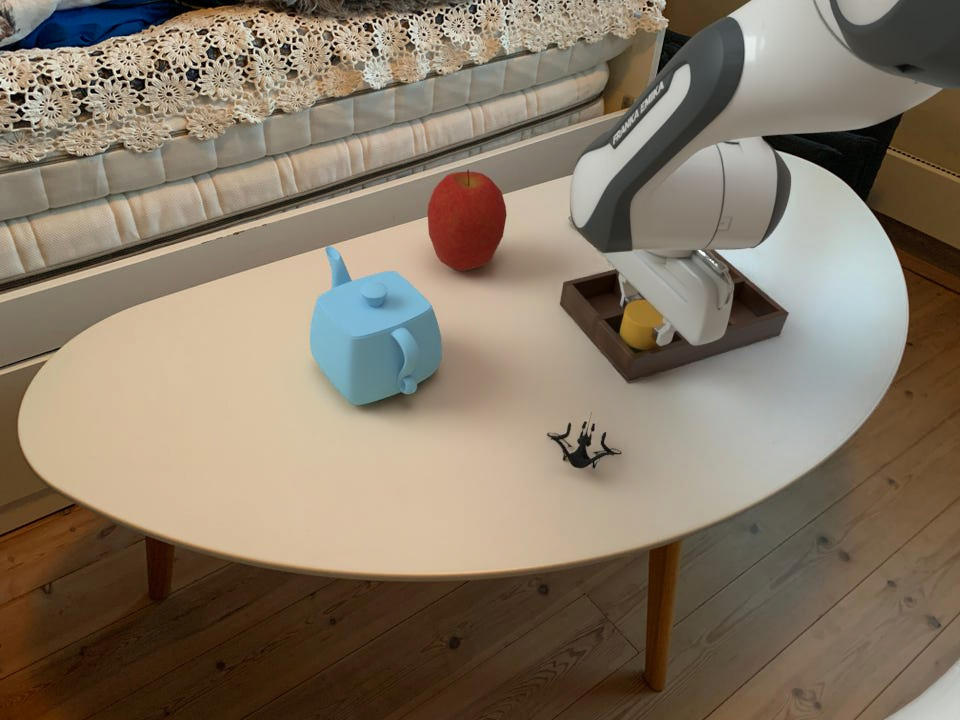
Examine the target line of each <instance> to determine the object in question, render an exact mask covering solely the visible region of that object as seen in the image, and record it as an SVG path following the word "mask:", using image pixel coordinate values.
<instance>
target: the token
mask: <svg viewBox="0 0 960 720" xmlns="http://www.w3.org/2000/svg"><path fill="white" fill-rule="evenodd" d="M662 320H663V316H662V315H661V314H660V313H659V312H658V311H657V310H656V309H655V308H654V307H653V306H652V305H651V304H650V303H649V302H648V301H647V300H635V301H632V302H630V303H629V304H628V305H627V306H626V308H625V312H624V316H623V320H622V324H621V328H620V336H621V338H622V340H623V341H624V342H625V343H626V344H628V345H629V346H631V347H634V348H637V349H641V350H650V349H653V348H657V347H658V346H659V345H658V344H657V343H656V342H655V341H654V340H653V339H652V337H651V336H652V334H653V328H654V327H656V326H661V325H663V324H664V323H663V321H662Z"/></svg>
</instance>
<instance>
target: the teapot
mask: <svg viewBox="0 0 960 720" xmlns="http://www.w3.org/2000/svg"><path fill="white" fill-rule="evenodd" d="M325 254H326V257H327V260H328V261H329V266H330V271H331V287H330V288H331V289H329V290H327V291H325V292H324V293H322V294H321V295H319V296H317V298H316V301H315V304H314V307H313V312H312V316H311V322H310V329H309V347H310V351H311V355H312V357H313V359H314V361H315V362H316V364H317V366H318V367H319V369H320V370H321V372H322V373H323V374H324V376H325V377H326V378H327V380H328V382H330V383H331V385H332V386H333V387H334V388H335V389H336V390H337V391H338V393H339V394H340V395H341V396H342V397H343V398H344V399H345V400H346V401H347V402H348V403H349V404H351V405H354V406H360V405H361V406H362V405H368V404H371V403H374V402H377V401H380V400H383V399H386V398H390V397H392V396H396V395H398V394H400V393H403V394H405V395H412V394H414V393H415V392H416V391H417V389H418V384H419V383H421V382H423V381H425V380H426V379H428V378H429V377H431V376H432V375H433V374H434V373H436V372H437V370H438V368H439V366H440V365H441V362H442V359H443V342H442V334H441V330H440V325H439V322H438V319H437V316H436V313H435V310H434V308H433V305H432V304H431V302H430V301H429V300H428V299H427V298H426V296H424V295H423V294H422V293H421V292H420V291H419V289H417V288H416V287H415V286H414V285H413V284H412V283H411V282H410V281H408V280H407V279H406V277H404V276H403V275H401V274H400V273H399V272H398V271H395V270H387V271H381V272H376V273H373V274H369V275H365V276H362V277H359V278H356V279H354V280H352V278H351V275H350V273H349V271H348V269H347V266H346V264H345V261H344V259H343V258H342V255H341V253H340V252H339V251H338V250H337V249H336V248H335V247H333V246H332V245H328V246H325Z"/></svg>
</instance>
